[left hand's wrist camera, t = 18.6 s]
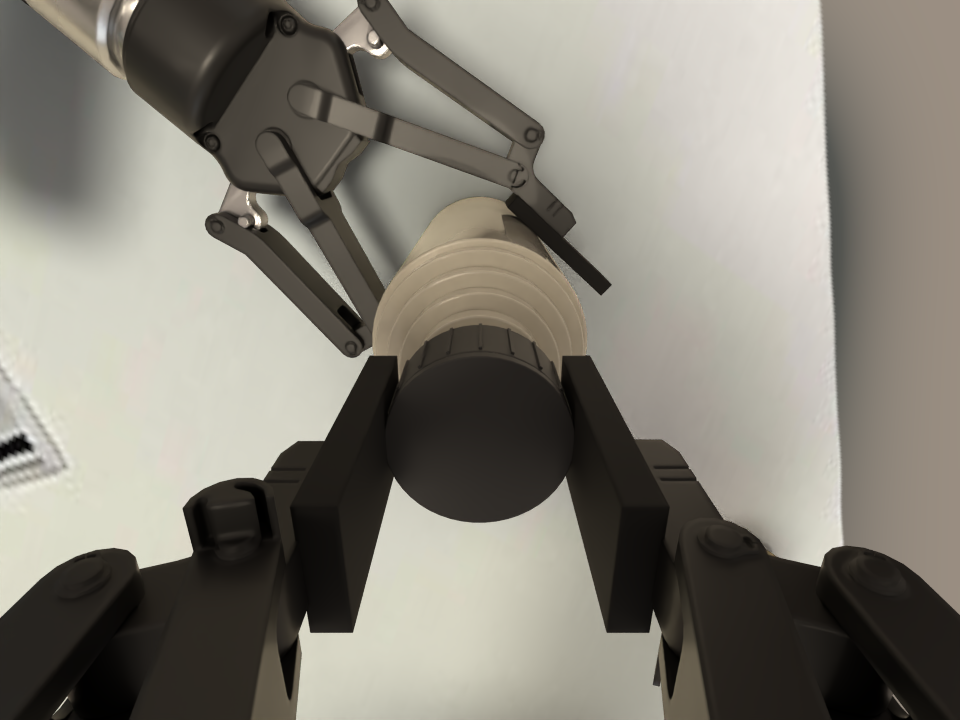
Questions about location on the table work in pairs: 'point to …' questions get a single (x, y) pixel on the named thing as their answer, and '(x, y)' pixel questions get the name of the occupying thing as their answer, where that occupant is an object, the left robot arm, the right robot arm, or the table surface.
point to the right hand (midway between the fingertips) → (545, 339)
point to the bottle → (479, 285)
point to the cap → (479, 425)
